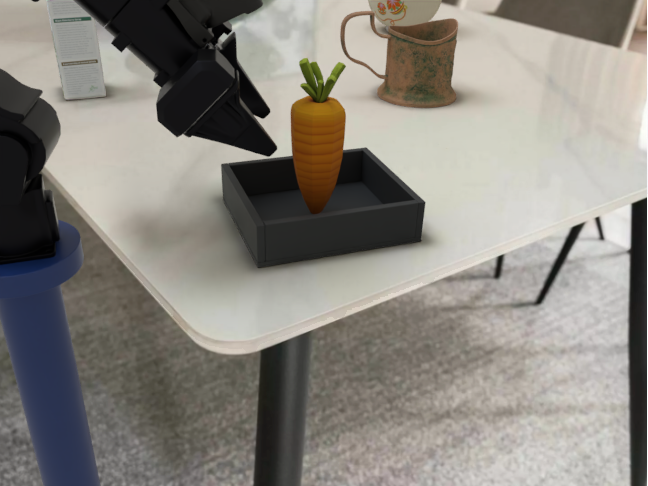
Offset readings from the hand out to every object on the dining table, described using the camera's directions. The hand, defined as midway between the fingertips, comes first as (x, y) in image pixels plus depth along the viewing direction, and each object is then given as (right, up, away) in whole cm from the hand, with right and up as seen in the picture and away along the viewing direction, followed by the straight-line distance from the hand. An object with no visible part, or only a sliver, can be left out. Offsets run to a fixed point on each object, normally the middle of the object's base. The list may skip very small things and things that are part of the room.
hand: (270, 132), depth 60 cm
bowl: (+20, +32, +76) cm, 85 cm away
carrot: (+4, -7, +5) cm, 10 cm away
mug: (+15, +12, +39) cm, 44 cm away
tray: (+4, -8, +5) cm, 10 cm away
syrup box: (-29, +11, +37) cm, 48 cm away
